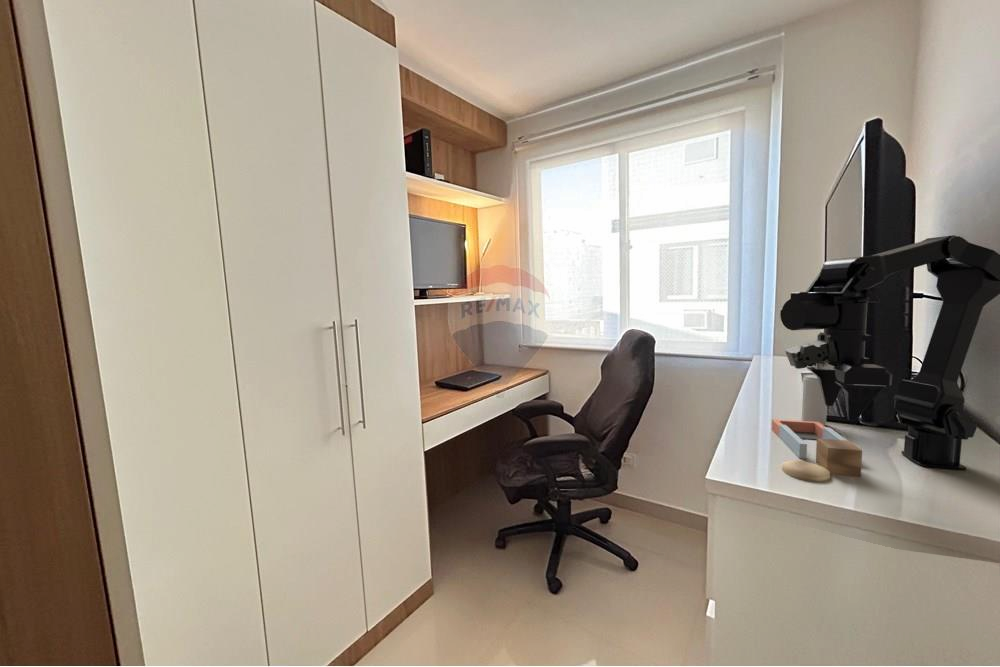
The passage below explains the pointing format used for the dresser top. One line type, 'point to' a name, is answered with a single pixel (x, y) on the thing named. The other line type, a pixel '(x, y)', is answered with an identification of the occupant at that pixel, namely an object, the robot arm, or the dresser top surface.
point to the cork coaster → (806, 471)
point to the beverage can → (813, 401)
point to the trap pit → (800, 428)
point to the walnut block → (839, 457)
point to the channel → (798, 444)
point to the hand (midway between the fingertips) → (839, 412)
